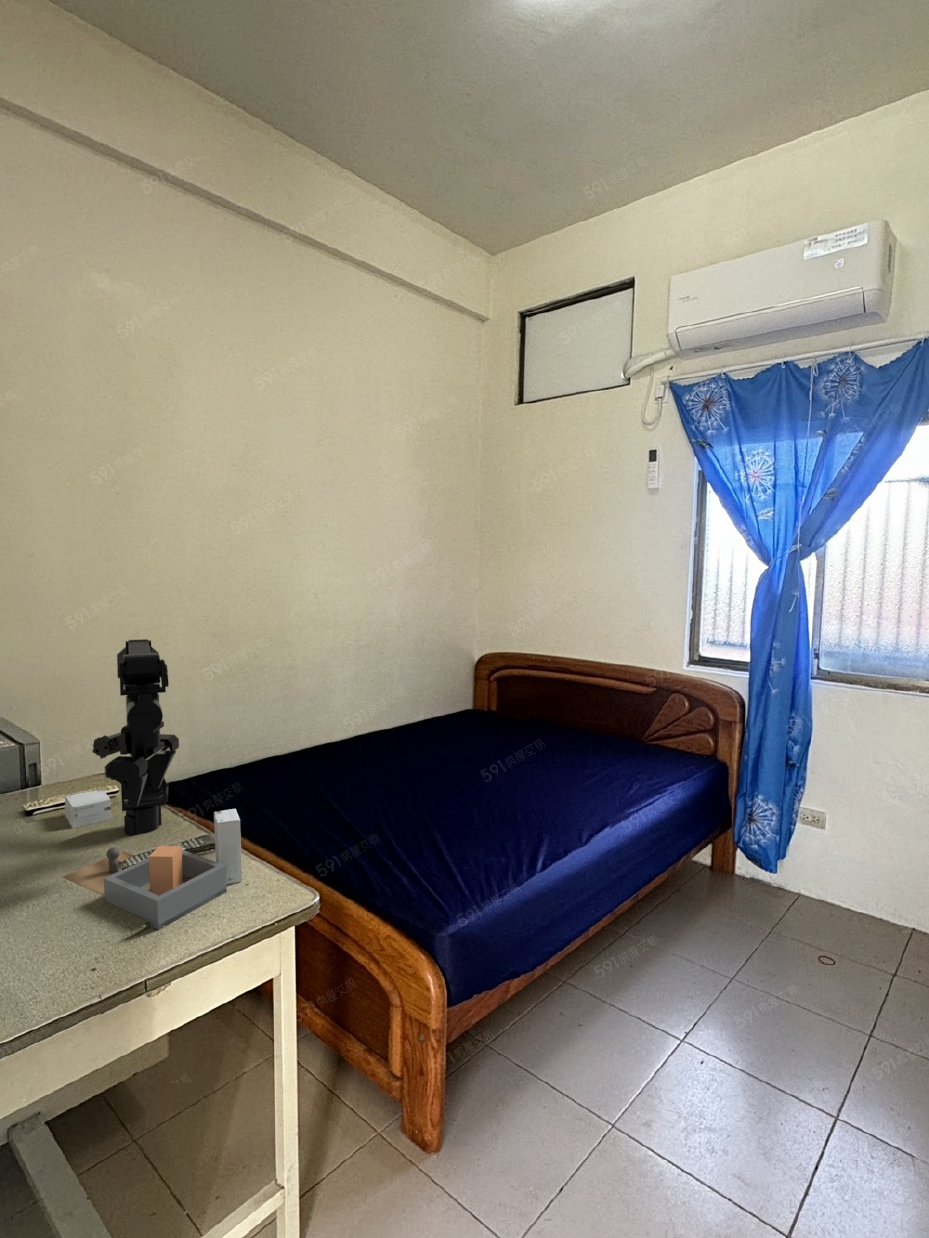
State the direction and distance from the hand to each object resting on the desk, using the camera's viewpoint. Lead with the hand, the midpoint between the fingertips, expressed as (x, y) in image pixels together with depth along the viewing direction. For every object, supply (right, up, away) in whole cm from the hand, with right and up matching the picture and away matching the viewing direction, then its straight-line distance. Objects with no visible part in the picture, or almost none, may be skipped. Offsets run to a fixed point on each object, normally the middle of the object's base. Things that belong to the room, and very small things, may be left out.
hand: (145, 797), depth 129 cm
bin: (+9, -15, -12) cm, 21 cm away
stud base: (-4, -14, -5) cm, 15 cm away
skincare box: (+17, -14, -4) cm, 23 cm away
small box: (-23, -11, +21) cm, 32 cm away
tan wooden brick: (+9, -14, -12) cm, 21 cm away
